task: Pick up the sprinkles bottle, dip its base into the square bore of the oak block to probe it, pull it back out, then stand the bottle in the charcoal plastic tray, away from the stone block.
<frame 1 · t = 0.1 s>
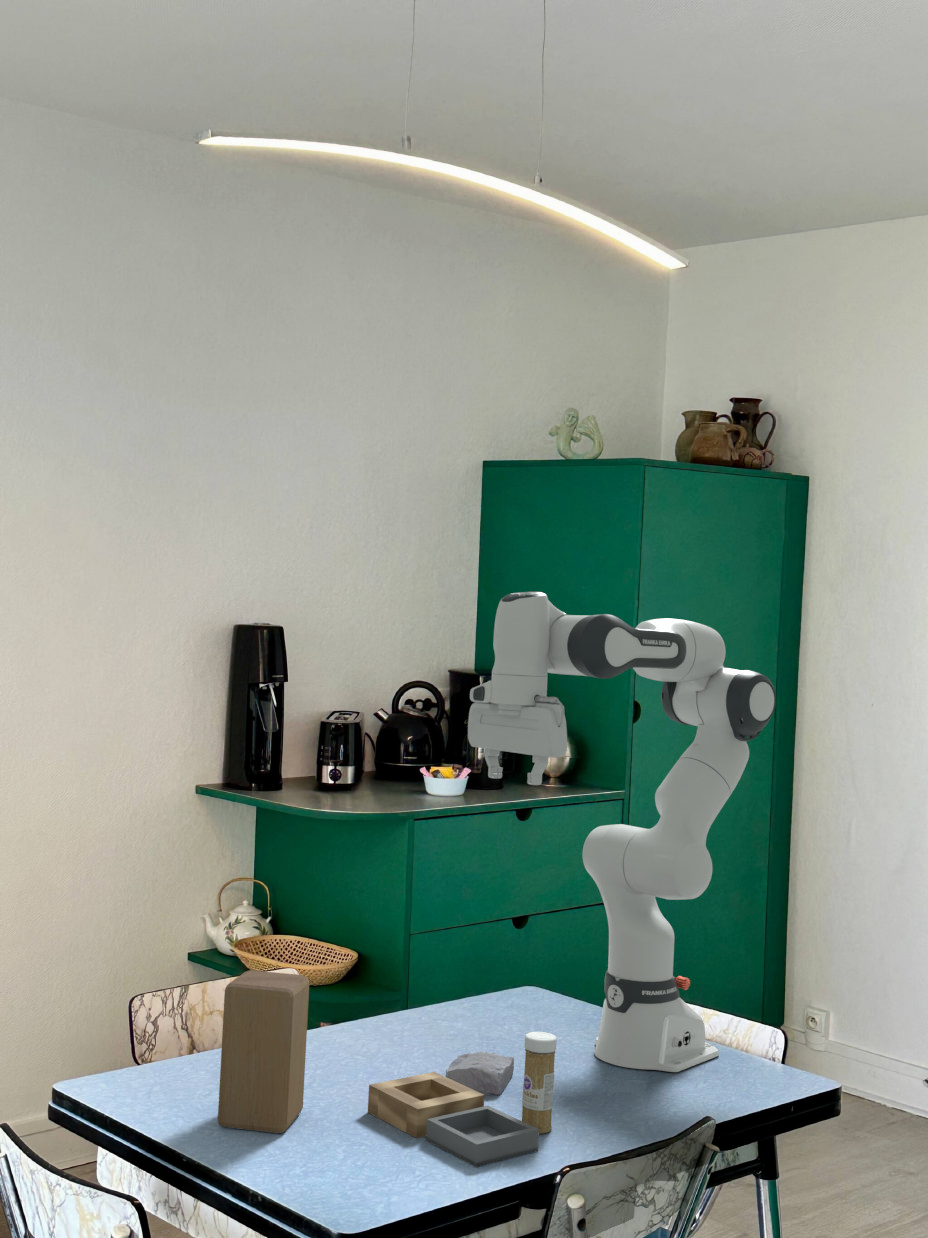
hand: (514, 781, 212), 48 cm above the table, tool pointing down, fingers open, 8 cm apart
oak bore block: (425, 1117, 196), on the table
sprinkles bottle: (536, 1130, 193), on the table
stone block: (477, 1084, 213), on the table
wooden block: (260, 1122, 191), on the table
tray: (481, 1146, 186), on the table
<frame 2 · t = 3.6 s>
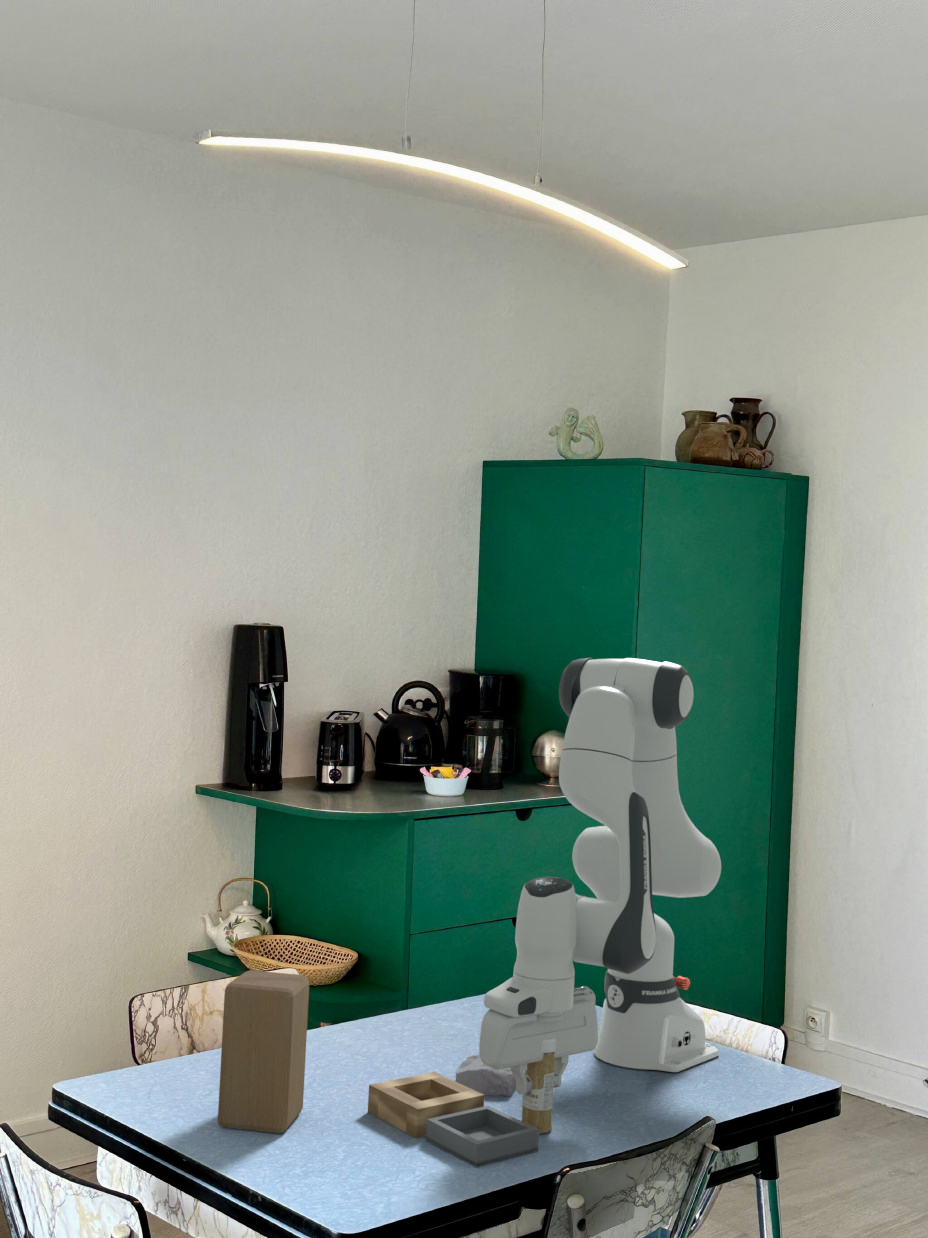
hand: (538, 1090, 194), 6 cm above the table, tool pointing down, fingers closed on sprinkles bottle, 4 cm apart
sprinkles bottle: (536, 1130, 193), on the table, touching gripper
stone block: (487, 1086, 213), on the table
everything else where it was.
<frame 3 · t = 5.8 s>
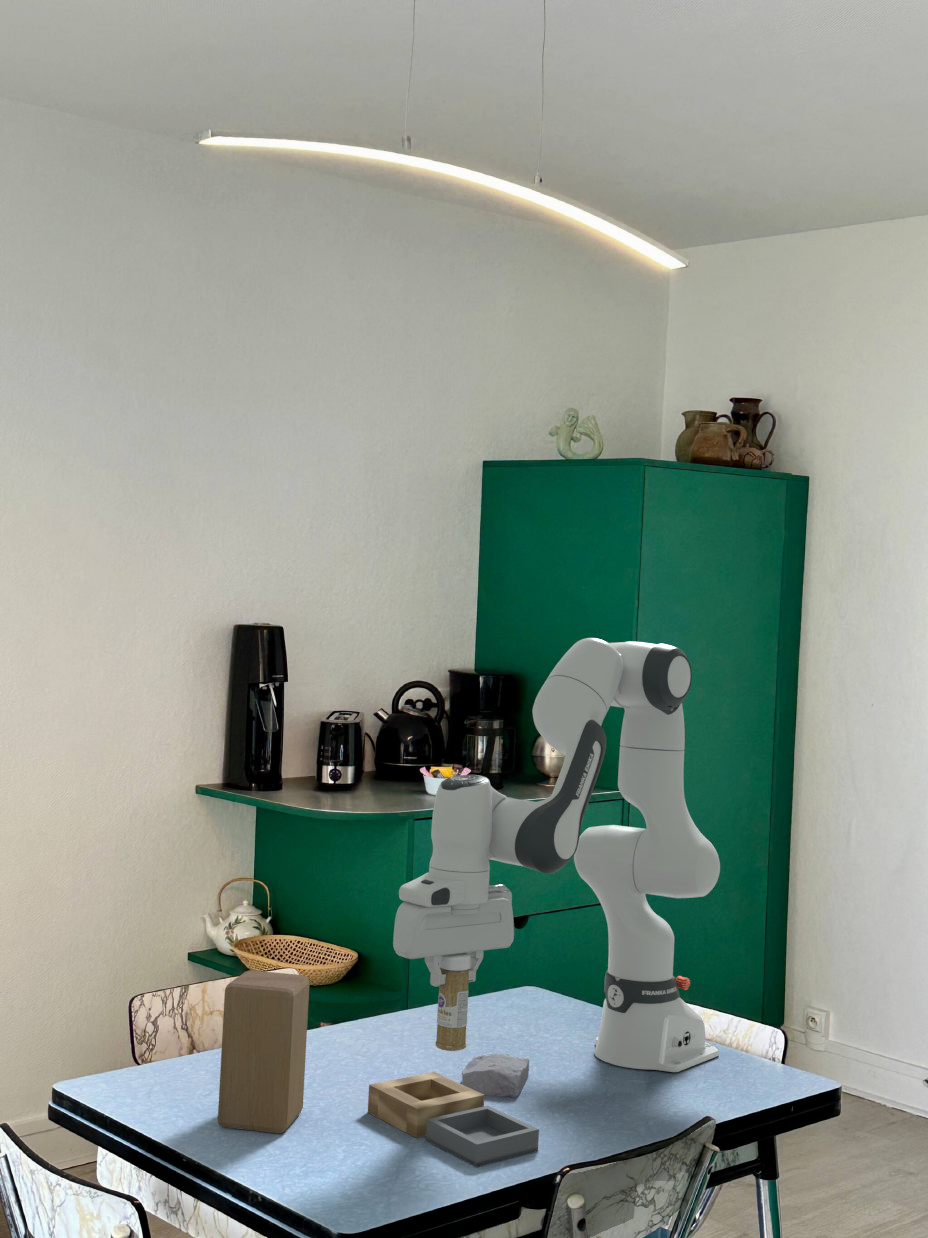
hand: (452, 983, 195), 20 cm above the table, tool pointing down, fingers closed on sprinkles bottle, 4 cm apart
sprinkles bottle: (451, 1049, 195), point 10 cm above the table, touching gripper
stone block: (493, 1086, 213), on the table
everything else where it was.
when the fingers open (9 cm above the table, at t = 13.5 s): sprinkles bottle stays where it is, resting on tray.
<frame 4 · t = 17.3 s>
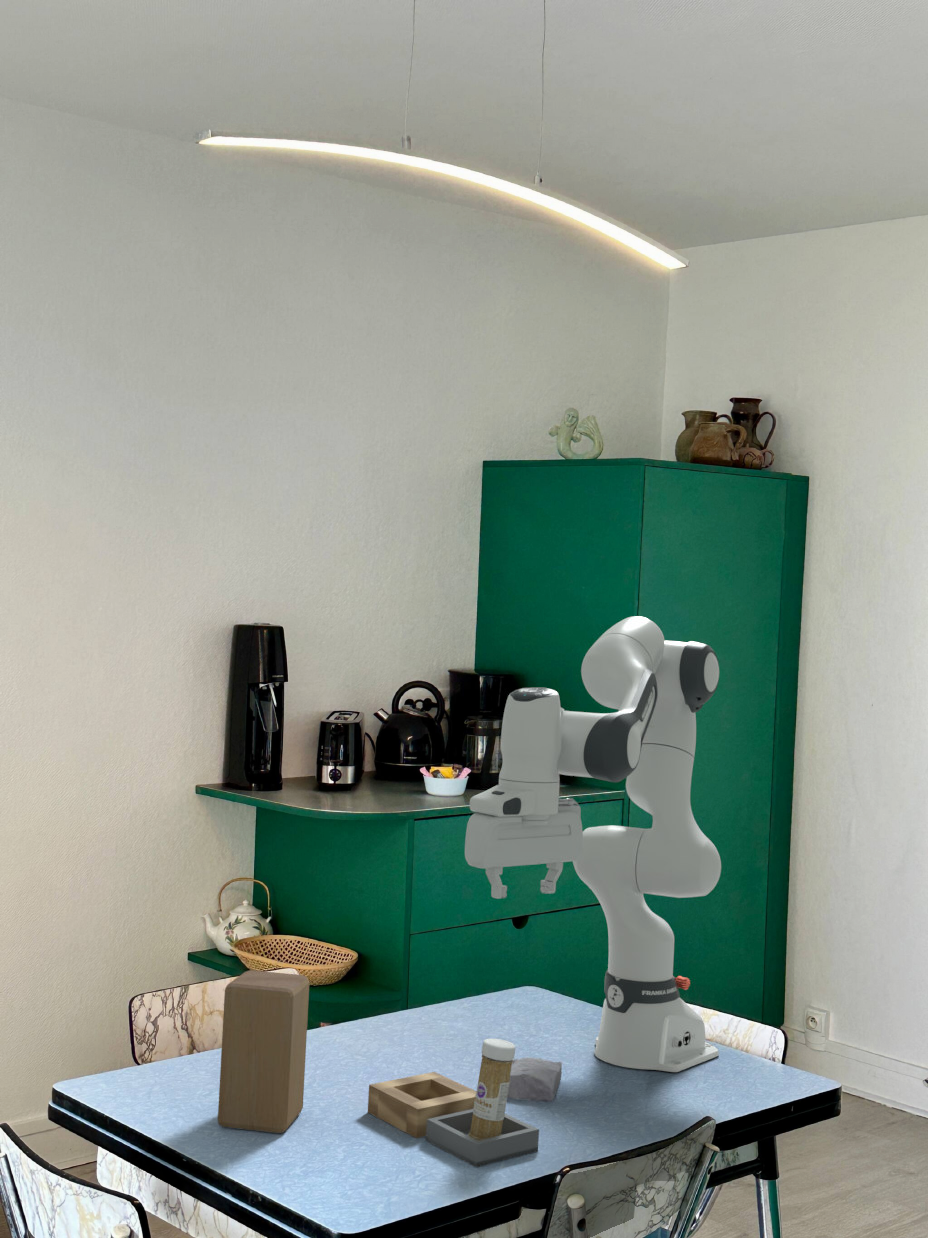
hand: (523, 895, 195), 33 cm above the table, tool pointing down, fingers open, 8 cm apart
sprinkles bottle: (484, 1142, 186), point 1 cm above the table, touching tray
stone block: (526, 1091, 212), on the table
everything else where it was.
at the end: sprinkles bottle inside the target area on the tray (0.4 cm from its centre), point 0.7 cm above the tray's base; sprinkles bottle tilted 8°; sprinkles bottle touching tray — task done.
